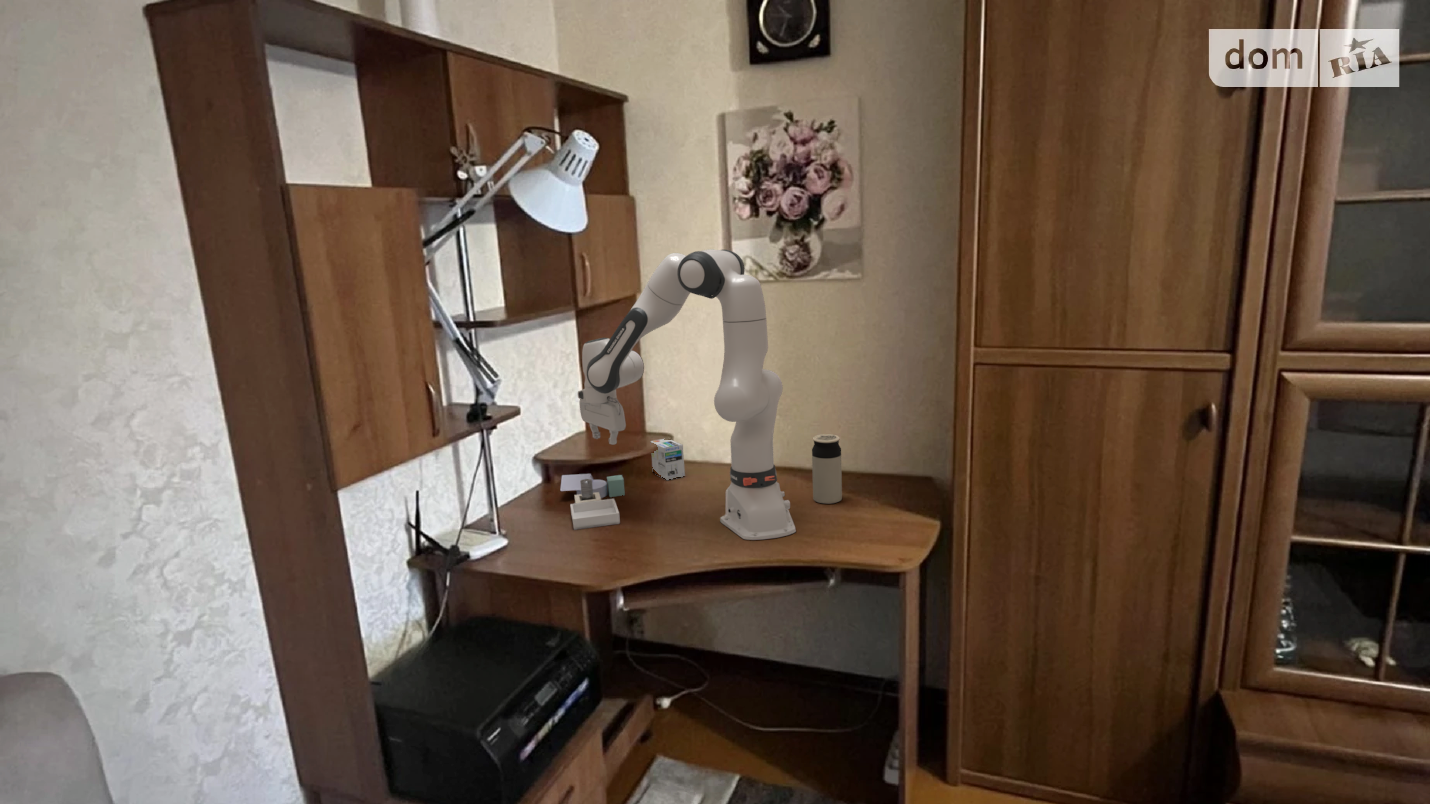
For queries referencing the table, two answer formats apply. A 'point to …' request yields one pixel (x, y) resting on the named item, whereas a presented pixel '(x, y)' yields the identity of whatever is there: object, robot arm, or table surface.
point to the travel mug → (827, 469)
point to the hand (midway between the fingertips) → (604, 441)
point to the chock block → (615, 486)
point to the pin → (586, 489)
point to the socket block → (579, 500)
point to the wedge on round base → (574, 484)
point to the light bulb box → (668, 459)
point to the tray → (594, 514)
